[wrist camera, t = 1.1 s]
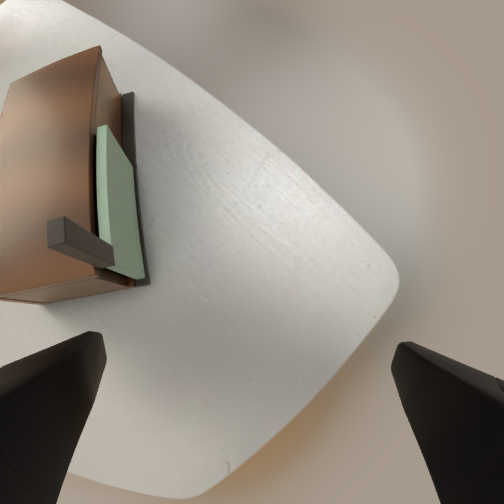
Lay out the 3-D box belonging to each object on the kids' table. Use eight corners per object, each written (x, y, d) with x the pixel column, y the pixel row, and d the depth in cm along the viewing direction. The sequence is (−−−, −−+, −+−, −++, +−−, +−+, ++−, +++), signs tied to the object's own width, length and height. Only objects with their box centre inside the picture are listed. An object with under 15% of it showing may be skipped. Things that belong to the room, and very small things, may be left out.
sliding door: (146, 279, 23) (65, 243, 11) (135, 281, 23) (46, 248, 11) (134, 166, 25) (77, 68, 12) (123, 169, 25) (61, 74, 12)
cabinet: (150, 284, 24) (114, 270, 16) (40, 304, 23) (-16, 298, 15) (133, 93, 27) (113, 40, 19) (43, 123, 26) (10, 83, 18)
